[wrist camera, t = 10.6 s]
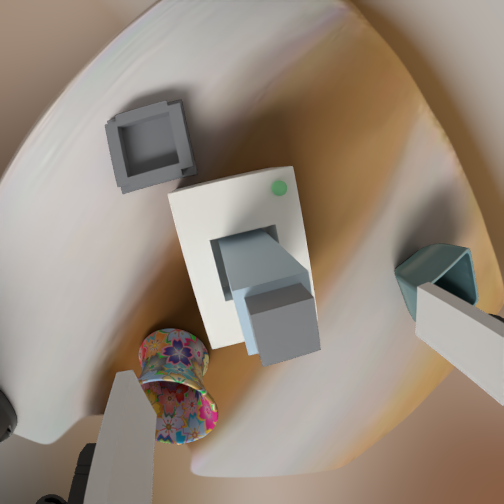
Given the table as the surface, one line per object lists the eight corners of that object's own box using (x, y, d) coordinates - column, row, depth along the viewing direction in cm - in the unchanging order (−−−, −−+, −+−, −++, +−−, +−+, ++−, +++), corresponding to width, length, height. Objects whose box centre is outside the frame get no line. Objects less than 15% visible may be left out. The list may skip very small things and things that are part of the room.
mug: (130, 322, 33) (109, 377, 23) (209, 319, 34) (214, 375, 24) (148, 399, 36) (140, 457, 26) (216, 396, 37) (223, 456, 27)
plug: (227, 278, 29) (255, 377, 14) (217, 237, 27) (236, 308, 13) (268, 267, 29) (330, 354, 15) (260, 226, 28) (322, 284, 14)
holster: (123, 193, 29) (117, 195, 27) (108, 121, 27) (101, 118, 25) (197, 173, 30) (197, 173, 28) (181, 100, 28) (180, 94, 25)
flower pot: (396, 315, 39) (434, 345, 30) (377, 267, 36) (419, 293, 28) (438, 279, 39) (479, 301, 30) (423, 230, 36) (469, 246, 28)
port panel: (208, 311, 34) (212, 351, 26) (176, 189, 30) (167, 194, 22) (295, 289, 35) (321, 321, 27) (272, 167, 31) (296, 165, 23)
